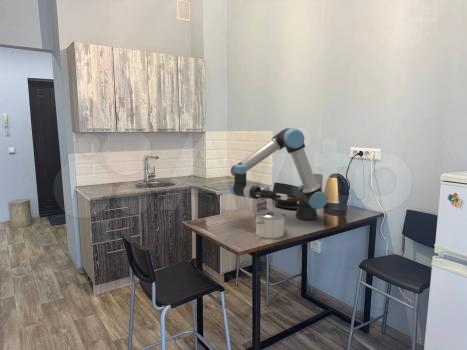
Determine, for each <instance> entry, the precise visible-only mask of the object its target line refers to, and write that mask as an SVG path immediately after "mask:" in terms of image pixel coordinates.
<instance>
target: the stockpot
mask: <svg viewBox="0 0 467 350" xmlns="http://www.w3.org/2000/svg"><path fill="white" fill-rule="evenodd" d="M254 219H255V220H256V221H255V235H257V236H258V237H260V238H265V239H278V238H279V239H280V238H281V237H283V236H285V235H284V234H285V217H284V218H282V219H276V220H270V219H263V218H259V217H257V216H256V214H255V213H254Z"/></svg>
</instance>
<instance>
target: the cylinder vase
mask: <svg viewBox="0 0 467 350" xmlns="http://www.w3.org/2000/svg"><path fill="white" fill-rule="evenodd" d="M313 175H314V177H315V180H316V183H317V184H319V185H320V186H321V189H322V190H323V181H324V180H323V179H324V178H323V177H324V176H323V174H321V173H313Z"/></svg>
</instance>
